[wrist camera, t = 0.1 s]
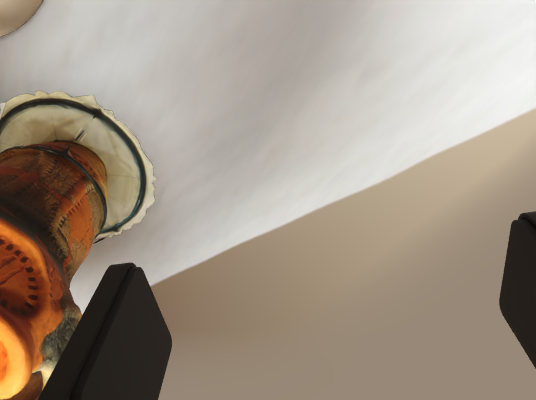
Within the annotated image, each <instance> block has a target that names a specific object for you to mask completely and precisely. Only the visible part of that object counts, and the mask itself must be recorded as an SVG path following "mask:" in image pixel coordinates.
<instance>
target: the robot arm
mask: <svg viewBox="0 0 536 400" xmlns="http://www.w3.org/2000/svg"><path fill="white" fill-rule="evenodd" d="M499 304H500V309H501V312H502V314H503V316H504V318H505V320H506V321H507V323H508V324H509V326H510V328H511V329H512V331H513V333H514V334H515V336H516V337H517V339H518V341H519V342H520V344H521V346H522V347H523V349H524V350H525V352H526V353H527V355H528V357H529V358H530V360H531V362H532V363H533V365H534V367H535V368H536V212H528V213H522V214H520V216H519V218H518V220H514V221H513V222H512V224H511V230H510V236H509V242H508V249H507V255H506V261H505V268H504V274H503V280H502V287H501V293H500V299H499ZM171 347H172V339H171V335H170V332H169V330H168V328H167V325H166V323H165V321H164V318H163V316H162V314H161V311H160V309H159V307H158V304H157V302H156V300H155V297H154V295H153V292H152V290H151V288H150V285H149V283H148V281H147V278H146V276H145V274H144V271H143V270H142V268H141V267H136V265H135V264H134V263H123V264H115V265H111V266H109V267H108V269H107V270H106V272H105V274H104V276H103V278H102V280H101V282H100V283H99V285H98V287H97V289H96V291H95V293H94V295H93V297H92V298H91V300H90V302H89V304H88V306H87V308H86V310H85V312H84V313H83V315H82V317H81V319H80V321H79V323H78V325H77V326H76V328H75V330H74V332H73V334H72V336H71V338H70V340H69V341H68V343H67V345H66V347H65V349H64V351H63V353H62V355H61V356H60V358H59V360H58V362H57V364H56V366H55V368H54V370H53V371H52V373H51V375H50V377H49V379H48V381H47V383H46V384H45V386H44V388H43V390H42V392H41V394H40V396H39V398H38V399H37V400H158V397H159V393H160V390H161V386H162V382H163V379H164V375H165V371H166V367H167V363H168V360H169V356H170V352H171Z"/></svg>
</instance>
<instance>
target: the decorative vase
mask: <svg viewBox="0 0 536 400" xmlns="http://www.w3.org/2000/svg"><path fill="white" fill-rule="evenodd" d="M0 107H1V111H2V112H0V400H37V399H38V398H39V396H40V394H41V392H42V390H43V388H44V386H45V384H46V383H47V381H48V379H49V377H50V375H51V373H52V371H53V370H54V368H55V366H56V364H57V362H58V360H59V358H60V356H61V355H62V353H63V351H64V349H65V347H66V345H67V343H68V341H69V340H70V338H71V336H72V334H73V332H74V330H75V328H76V326H77V325H78V323H79V321H80V319H81V317H82V314H81V311H80V309H79V307H78V306H77V305H76V304H75V303H74V301H73V298H72V295H71V292H70V290H69V288H70V282H71V280H72V277H73V276H74V274H75V272H76V271H77V269H78V268H79V266H80V265H81V263H82V262H83V260H84V259H85V257H86V256H87V254H88V252H89V250H90V248H91V245H92V243H93V240H94V239H97V238H100V237H104V238H106V237H110V238H113V236H112V235H117V234H121V232H122V229H125V230H130V228H131V227H132V225H133V224H136V223H140V222H141V220H142V218H143V217H144V216H145V215H146V209H147V208H148V207H150V206H151V205H152V204H153V203H154V202H155V198H154V196H153V192H154V190H155V187H154V185H153V183H152V182H153V181H154V180H156V179H157V178H156V177H155V176H153V165H152V163H151V162H150V161H149V159H148V158H147V157H146V155H145V154H144V153H143V151H142V150H141V147H140V144H139V141H138V139H137V138H136V137H135V136H134V135H133V134H132V133H131V132H130V131H129V129H128V128H127V127H126V126H125V124H124V123H122V122H120V121H118V120H116V119H115V118H114V115H113V112H112V111H107V110H104V109H103V108H101V107H100V106H99V105H98V104H96V101H95V98H94V96H80V97H72V98H71V97H70V96H69V95H67V94H66V93H63V92H59V91H56V92H54V93H51V94H47V93H44V92H42V91H36V93H35V96H33V95H30V94H23V95H20V96H16V97H13V98H12V99H10V100H9V101H8V102H4V103H0ZM104 238H102V239H99V240H98V241H101V240H103V239H104ZM98 241H96V242H94V243H97V242H98ZM94 243H93V244H94Z"/></svg>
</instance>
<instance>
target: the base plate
mask: <svg viewBox="0 0 536 400" xmlns="http://www.w3.org/2000/svg"><path fill="white" fill-rule="evenodd" d="M42 2H43V0H0V37H1V36H4V35H6V34H8V33H10V32H12V31H14V30H16V29H17V28H19V27H20V26H22V25H23V24H24V23H26V22H27V21H28V20H29V19H30V18H31V17H32V16H33V15H34V13H35V12H36V11H37V9H38V8H39V6H40V5H41V3H42Z"/></svg>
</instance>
